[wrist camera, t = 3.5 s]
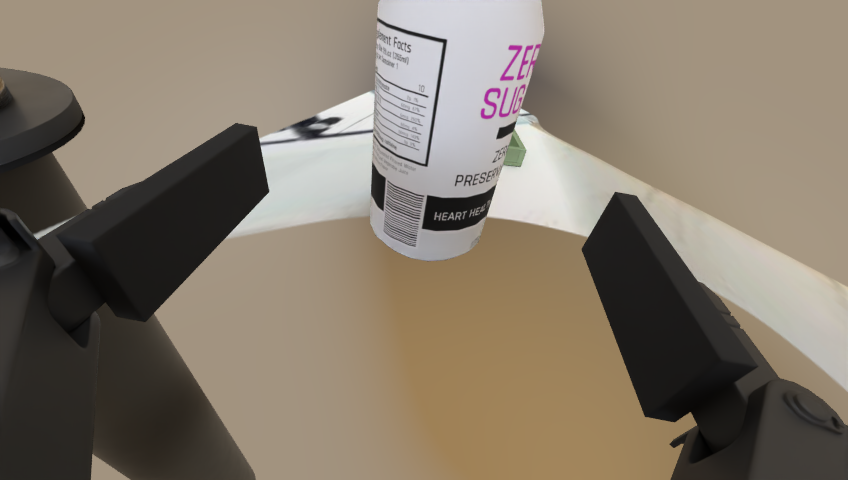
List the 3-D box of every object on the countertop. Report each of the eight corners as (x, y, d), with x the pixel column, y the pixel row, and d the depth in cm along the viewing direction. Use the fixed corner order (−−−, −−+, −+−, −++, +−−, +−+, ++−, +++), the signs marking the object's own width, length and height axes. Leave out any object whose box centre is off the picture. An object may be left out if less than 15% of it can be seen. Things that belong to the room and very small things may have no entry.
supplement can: (382, 191, 28) (397, -38, 18) (478, 208, 28) (542, -12, 18) (356, 254, 22) (357, -42, 12) (479, 277, 22) (577, -4, 12)
